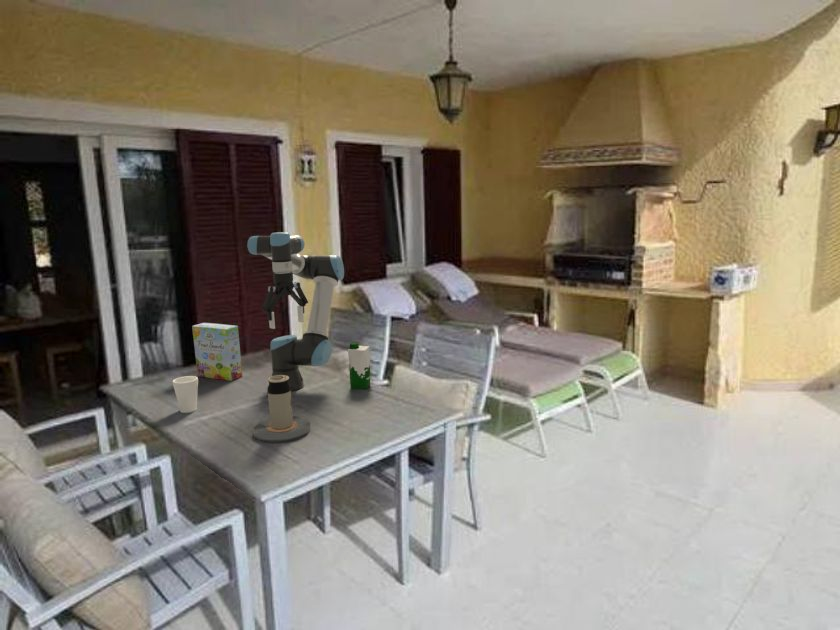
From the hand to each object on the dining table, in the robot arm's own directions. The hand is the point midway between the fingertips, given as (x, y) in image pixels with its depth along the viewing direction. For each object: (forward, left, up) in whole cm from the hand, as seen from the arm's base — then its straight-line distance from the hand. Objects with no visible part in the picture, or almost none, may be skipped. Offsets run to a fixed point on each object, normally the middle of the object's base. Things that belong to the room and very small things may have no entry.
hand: (287, 325), depth 224 cm
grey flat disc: (+18, +20, -34) cm, 43 cm away
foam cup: (+30, -29, -34) cm, 54 cm away
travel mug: (+18, +20, -32) cm, 42 cm away
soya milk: (-34, +3, -34) cm, 49 cm away
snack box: (-1, -62, -34) cm, 71 cm away
